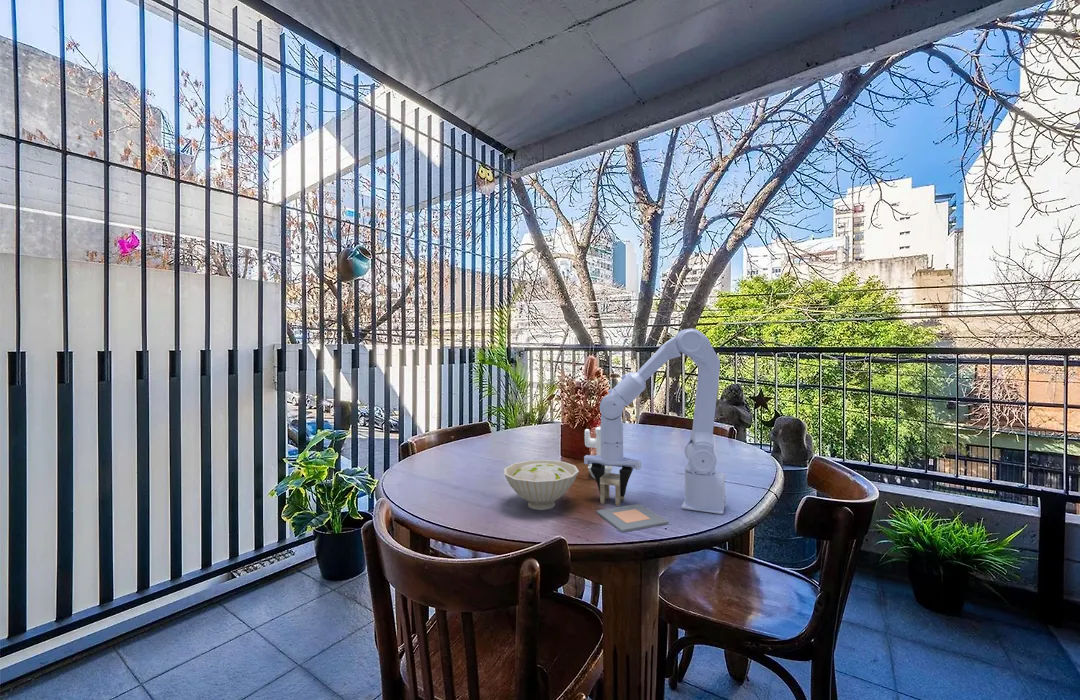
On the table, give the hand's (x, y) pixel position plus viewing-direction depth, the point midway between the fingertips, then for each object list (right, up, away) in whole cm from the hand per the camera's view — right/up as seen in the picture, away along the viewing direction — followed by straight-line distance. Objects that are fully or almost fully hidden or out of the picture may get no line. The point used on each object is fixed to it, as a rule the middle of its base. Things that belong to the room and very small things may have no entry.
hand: (612, 493), depth 118 cm
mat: (+3, -2, -11) cm, 12 cm away
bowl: (-18, -2, -1) cm, 18 cm away
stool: (0, -2, 0) cm, 2 cm away
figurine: (0, -2, +21) cm, 21 cm away
